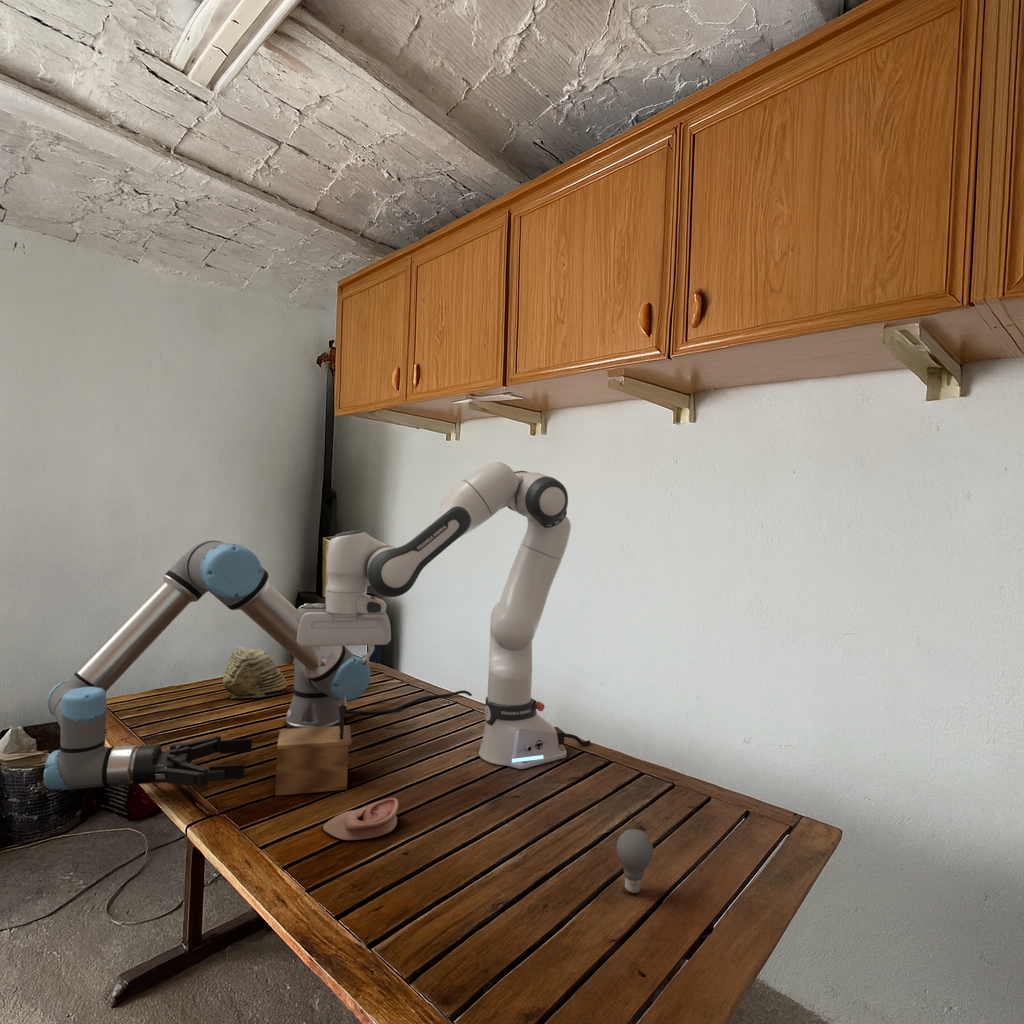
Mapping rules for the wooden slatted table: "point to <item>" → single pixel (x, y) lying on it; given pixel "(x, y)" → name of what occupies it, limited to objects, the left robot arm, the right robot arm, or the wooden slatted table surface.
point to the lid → (317, 733)
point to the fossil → (252, 674)
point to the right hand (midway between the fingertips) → (343, 664)
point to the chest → (311, 769)
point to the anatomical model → (364, 821)
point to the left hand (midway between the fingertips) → (248, 757)
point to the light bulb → (634, 857)
